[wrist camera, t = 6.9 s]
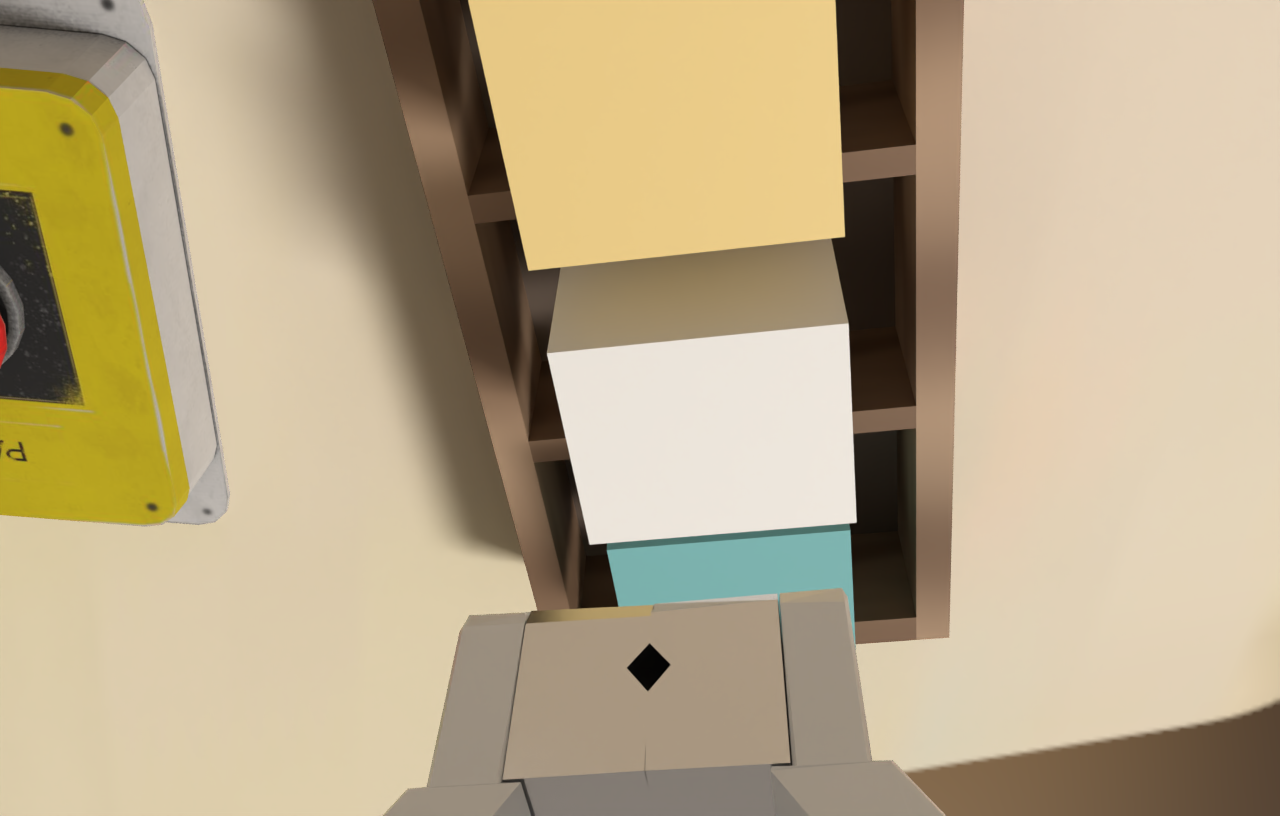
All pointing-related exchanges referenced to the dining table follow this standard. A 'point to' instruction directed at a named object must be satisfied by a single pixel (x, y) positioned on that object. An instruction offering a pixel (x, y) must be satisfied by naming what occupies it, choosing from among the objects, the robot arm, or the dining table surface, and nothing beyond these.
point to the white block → (706, 392)
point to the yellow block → (664, 124)
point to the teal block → (733, 565)
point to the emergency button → (97, 280)
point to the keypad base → (868, 271)
